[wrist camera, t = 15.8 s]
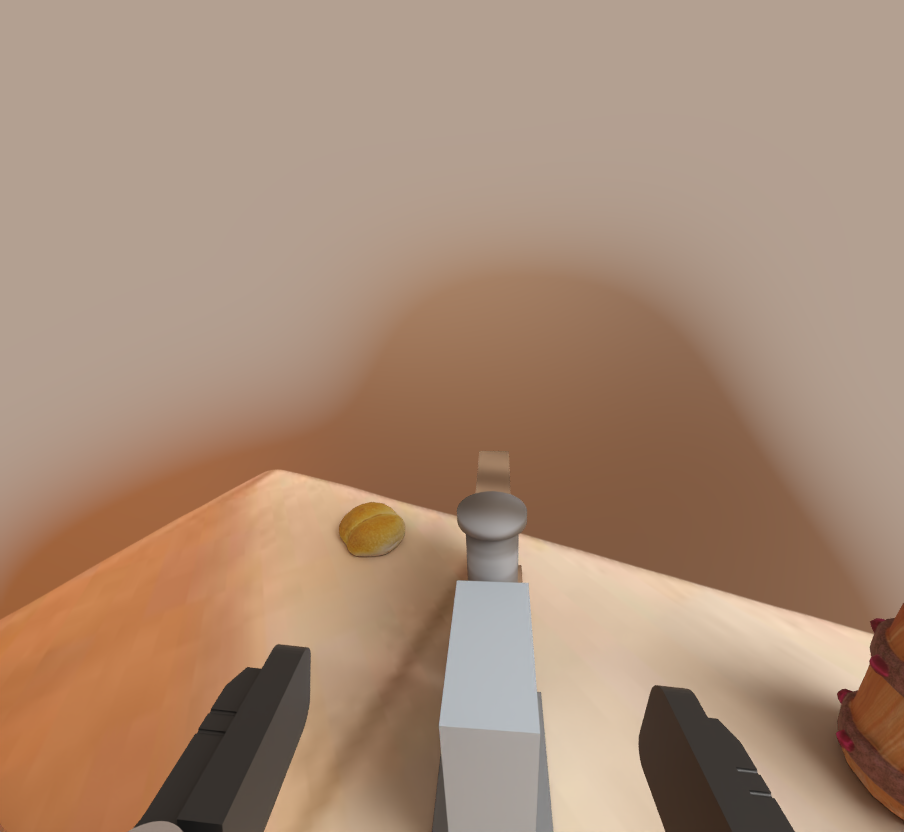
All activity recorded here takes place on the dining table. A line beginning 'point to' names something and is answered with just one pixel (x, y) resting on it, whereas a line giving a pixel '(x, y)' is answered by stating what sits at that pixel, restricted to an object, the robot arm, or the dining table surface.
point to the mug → (878, 717)
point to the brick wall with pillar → (492, 522)
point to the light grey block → (490, 711)
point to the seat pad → (543, 796)
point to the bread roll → (371, 529)
